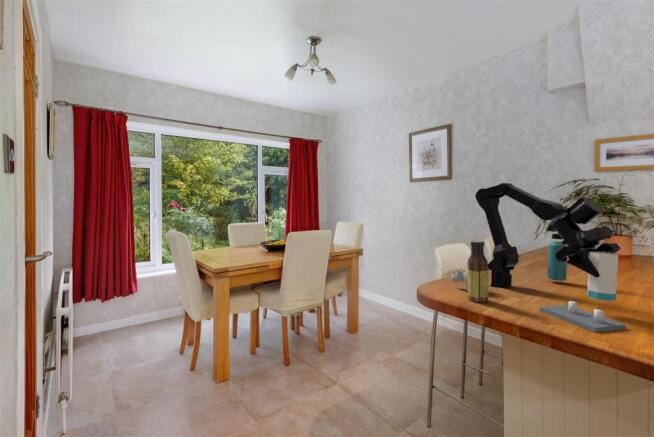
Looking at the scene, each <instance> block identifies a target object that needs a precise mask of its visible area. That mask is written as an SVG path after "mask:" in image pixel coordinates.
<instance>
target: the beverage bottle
mask: <svg viewBox="0 0 654 437" xmlns="http://www.w3.org/2000/svg"><path fill="white" fill-rule="evenodd" d="M551 240H563V239H562V237H561V236H560V235H559V234H558V233H552V234H551ZM563 246H564V245H563V244H562V241H551V242H549V243H548V253H547V254H548V255H547V278H548V279H549V280H552V281H559V282H564V281H565V282H566V281H567V279H568V277H567V275H568V271H567V270H568V264H567V261H568V260H567V261H566V262H558V261H557V259H556V258H555V253H556V252H557V251H558V250H559V249H560V248H561V247H563ZM566 257H567V258H568V256H566Z"/></svg>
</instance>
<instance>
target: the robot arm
mask: <svg viewBox="0 0 654 437" xmlns="http://www.w3.org/2000/svg"><path fill="white" fill-rule="evenodd" d="M505 196H507V197H509V198H511V199H512V200H514V201H516V202H517V203H520V204H522V205H524V206H525V207H527V208H529V209H530V210H531V212H532V213H533V214H534V215H535V216H537V217H538V218H539V219H541V220H543V221H553V223H551V222H549V223H548V224H547V225H548V226H547V227H546V231H547V232H553V233H555V232H556V234H559V235H560V236H561V237H562V239H561V242H562V244H563V245H564V246H563V247H561V248H560V249H559V250H558V251H557V252H556V253H555V258H556V259H557V261H558V262H566V261H567V265H571V266H573V267H574V268H577V269H579V270H581V271H583V272H586V274H588V273H589V274H591V275H592V276H594V277H596V278H598V277H599V276H600V274H599V273H598V271H597V270H596V268H595V267H594V265H593V264H592V263H591V261H590V260H589V252H608V253H615V254H617V252H619V251H620V250H621V249H622V248H621V247H620V246H619V245H618V243H616V242H603V243H602V244H600V243H601V241H603V240H606V239H611V238H613V237H612V236H614V235H613V234H614V230H613V229H611V228H610V226H608V225H602V226H598V227H593V228H591V229H588V230H583V229H582V228H581V227H580V226H579V225H581V224H582V225H587V224H588V223H590V222H591V221H592V220H594V219H595V218H596V217H598V216H599V215H600V214H602V213H603V209H602V207H601V206H600V205H599V204H598V203H595V202H593V201H592V200H590V199H588V198H587V197H585V196H584V197H583V196H580V197H579V198H578V199H577V200H576V201H575V202H574V203H573V204H572V205H570V207H565V206H564V205H563V204H562V203H560V202H559V203H558V202H556V201H552V200H547V199H542V198H539V197H537V196H535V195H534V194H531V193H529V192H527V191H525V190H523V189H521V188H519V187H517V186H515V185H513V184H512V183H510V182H501V183H499V184H497V185H493V186H490V187H485V188H479V189H478V190H477V191H476V193H475V196H474V197H475V200H476V202H477V203H478V205H479V207H480V208H481V209H482V211H483V212H484V214H485V217H486V221H487V223H488V224H487V225H488V227H489V232H490V234H491V238H492V241H493V245H494V247H493V249H492V250H493V252H492V258H493V259H492V260H491V261H490V262H489V261H488V271H491V273H490V274H491V277H490V278H491V282H490V285H489V286H490V287H498V288H504V289H505V288H506V289H510V288H511V287H512V283H513V274H511V271H514V270H515V267H516V266H517V264H518V263H519V261H520V259H519V258H520V254H518V248H517V247H516V246H512V245H511V244H510V243H509V240H508V237H507V233H506V231H505V228H504V227H505V226H504V224H503V221H502V217H501V214H500V211H499V205H500V198H504V197H505ZM599 244H600V245H599ZM596 246H597V247H596ZM566 256H567V257H566ZM618 274H619V273H618V272H617V276H618Z"/></svg>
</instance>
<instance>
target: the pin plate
mask: <svg viewBox="0 0 654 437" xmlns="http://www.w3.org/2000/svg"><path fill="white" fill-rule="evenodd" d="M539 312H542V313H544V314H547V315H549V316H552V317H555V318H557V319H559V320H562V321H565V322H566V323H570V324H573V325H575V326H577V327H580V328H583V329H586V330H588V331H590V332H592V333H603V332H610V331H611V332H612V331H620V330H626V329H627V324H626V323H623V322H619V321H618V320H615V319H610V318H607V317H605V311H604V310H602V309H598V308H595V309H593V313H592V312H589V311H587V310H583V309H581V308H578V302H577V301H573V300H569V301H568V304H559V305H548V306H540V307H539Z"/></svg>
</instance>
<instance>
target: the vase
mask: <svg viewBox="0 0 654 437" xmlns="http://www.w3.org/2000/svg"><path fill="white" fill-rule="evenodd" d="M588 257H589V260H590V261H591V263H592V264H593V265H594V267H595V268H596V270H597V271H598V273H599V274H600V276H599V277H598V278H596V277H594V276H592V275H591V274H589V273H587V293H586V294H587V297H588V298H592V299H594V300H598V301H599V300H600V301H604V302H605V301H606V302H610V301H611V302H612V301H613V302H614V301H615V302H616V300H617V288H618V287H617V284H618V283H617V282H618V275H617V273H618V270H619V269H618V268H619V266H618V264H619V254H618V253H608V252H589V255H588Z"/></svg>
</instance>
